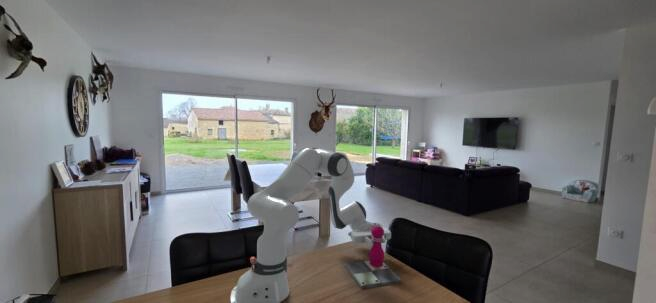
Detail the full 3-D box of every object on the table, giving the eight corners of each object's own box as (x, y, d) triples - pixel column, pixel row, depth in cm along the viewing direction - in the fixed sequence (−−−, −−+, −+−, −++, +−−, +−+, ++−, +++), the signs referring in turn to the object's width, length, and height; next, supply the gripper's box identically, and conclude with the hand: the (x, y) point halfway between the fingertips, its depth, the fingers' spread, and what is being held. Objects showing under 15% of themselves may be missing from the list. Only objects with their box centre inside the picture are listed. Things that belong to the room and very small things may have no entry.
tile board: (361, 288, 113) (361, 285, 112) (344, 265, 131) (344, 263, 130) (401, 281, 118) (401, 279, 118) (380, 260, 136) (380, 258, 136)
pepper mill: (383, 268, 126) (385, 227, 124) (368, 266, 128) (369, 225, 126) (383, 261, 133) (385, 221, 131) (368, 259, 135) (370, 220, 133)
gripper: (346, 226, 138) (358, 237, 125) (383, 223, 144) (397, 233, 131) (346, 238, 139) (357, 251, 126) (382, 234, 145) (396, 246, 132)
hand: (378, 242), depth 128 cm, fingers closed on pepper mill, 5 cm apart
